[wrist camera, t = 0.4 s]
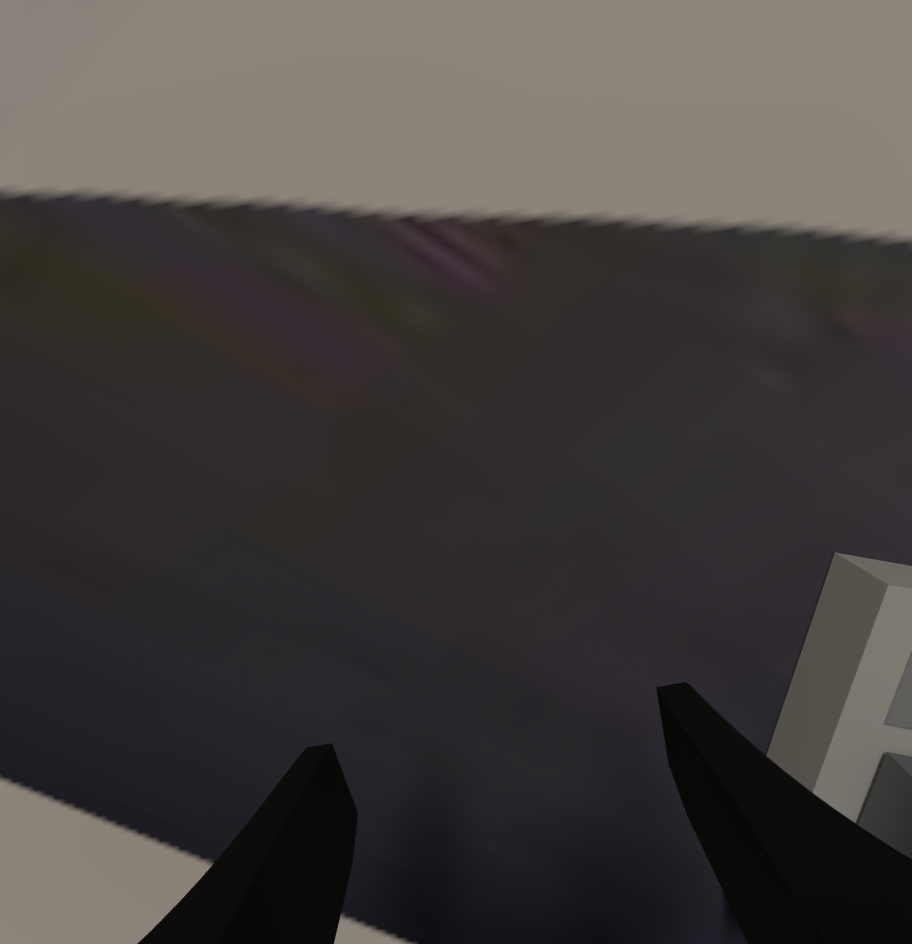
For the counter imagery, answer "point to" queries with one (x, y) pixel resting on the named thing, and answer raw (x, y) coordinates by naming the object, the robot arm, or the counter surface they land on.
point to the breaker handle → (891, 804)
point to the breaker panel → (850, 685)
